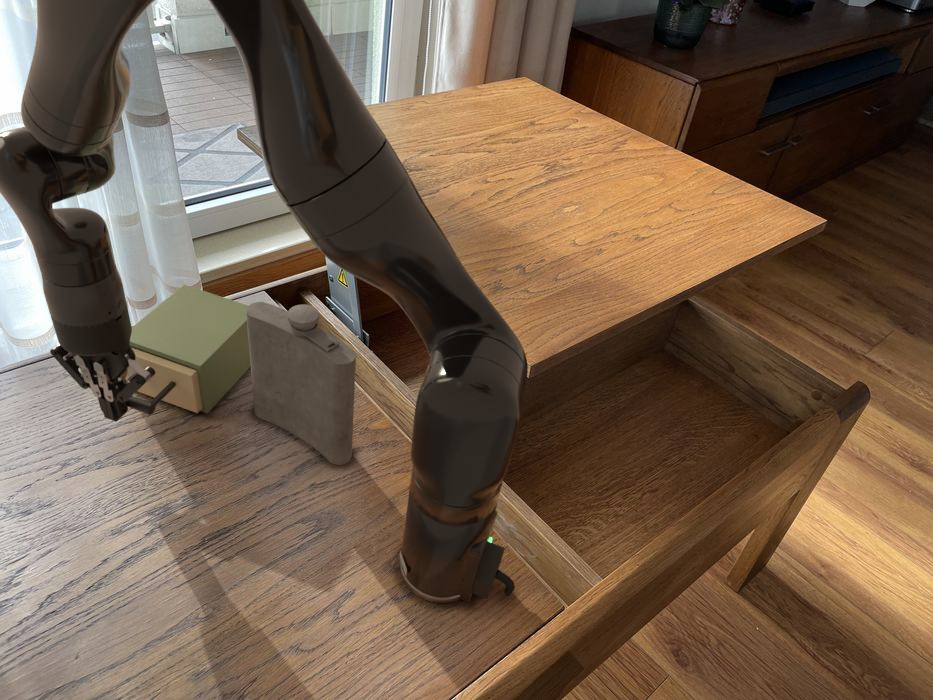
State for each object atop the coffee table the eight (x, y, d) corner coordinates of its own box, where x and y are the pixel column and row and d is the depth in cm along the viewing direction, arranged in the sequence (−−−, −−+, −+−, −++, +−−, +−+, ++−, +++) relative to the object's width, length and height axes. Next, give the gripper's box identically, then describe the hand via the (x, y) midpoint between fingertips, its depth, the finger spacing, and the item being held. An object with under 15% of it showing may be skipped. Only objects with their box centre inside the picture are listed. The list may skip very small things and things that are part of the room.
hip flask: (249, 412, 97) (238, 293, 84) (271, 396, 100) (263, 278, 87) (341, 469, 92) (344, 351, 79) (360, 450, 94) (367, 333, 82)
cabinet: (207, 413, 96) (200, 366, 90) (130, 385, 98) (118, 337, 92) (261, 354, 106) (258, 308, 100) (190, 330, 108) (183, 284, 102)
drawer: (170, 442, 90) (162, 404, 86) (96, 415, 92) (85, 376, 88) (249, 357, 104) (246, 321, 99) (184, 335, 106) (178, 298, 101)
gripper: (9, 303, 76) (48, 418, 87) (116, 340, 73) (142, 453, 84) (61, 268, 81) (92, 380, 92) (162, 302, 79) (181, 412, 90)
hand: (116, 415), depth 88 cm, fingers closed
